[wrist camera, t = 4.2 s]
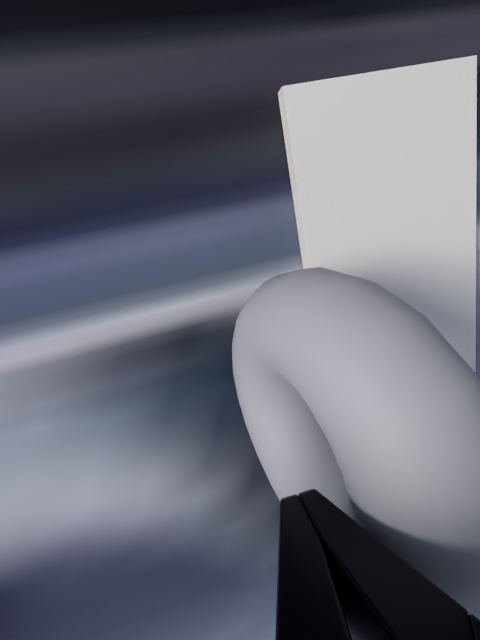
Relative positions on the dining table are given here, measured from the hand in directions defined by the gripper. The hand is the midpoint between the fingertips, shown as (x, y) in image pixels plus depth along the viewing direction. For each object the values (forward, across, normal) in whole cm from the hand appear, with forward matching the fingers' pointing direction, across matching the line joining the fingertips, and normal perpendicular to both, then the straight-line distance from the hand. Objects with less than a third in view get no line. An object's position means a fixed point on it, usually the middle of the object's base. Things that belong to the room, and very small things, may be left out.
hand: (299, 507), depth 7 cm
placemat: (+8, -8, 0) cm, 11 cm away
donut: (+8, -1, 0) cm, 8 cm away
